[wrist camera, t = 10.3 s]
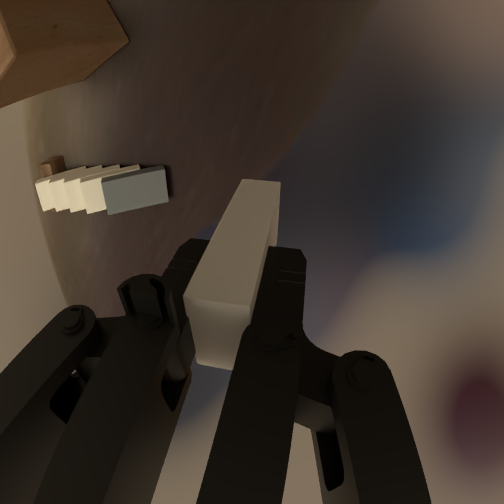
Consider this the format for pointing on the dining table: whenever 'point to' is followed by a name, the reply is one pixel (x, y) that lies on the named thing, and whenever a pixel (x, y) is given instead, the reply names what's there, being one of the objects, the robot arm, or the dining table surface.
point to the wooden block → (53, 44)
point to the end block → (52, 169)
